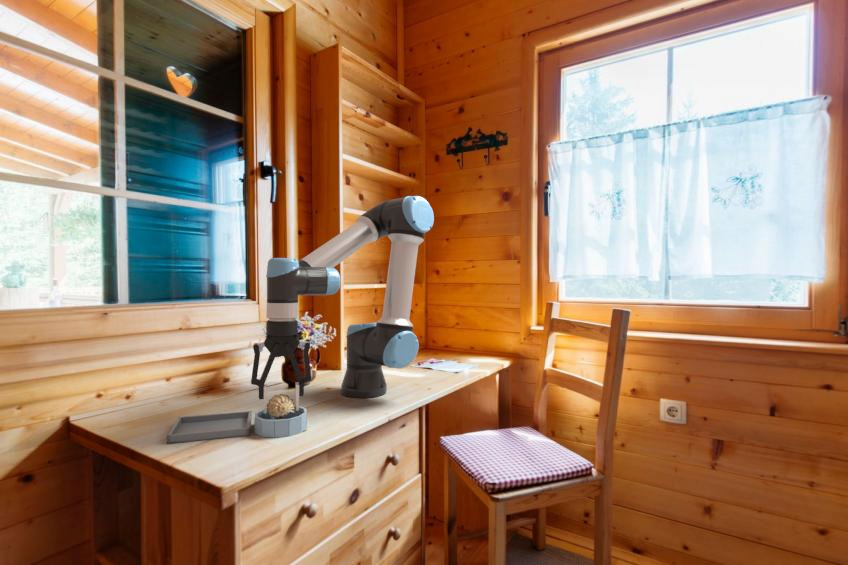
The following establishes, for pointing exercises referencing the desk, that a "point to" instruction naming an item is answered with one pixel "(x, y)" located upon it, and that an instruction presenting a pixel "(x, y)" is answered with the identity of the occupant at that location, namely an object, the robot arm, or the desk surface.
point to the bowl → (280, 423)
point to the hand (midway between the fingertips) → (281, 410)
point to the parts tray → (210, 427)
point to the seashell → (280, 406)
